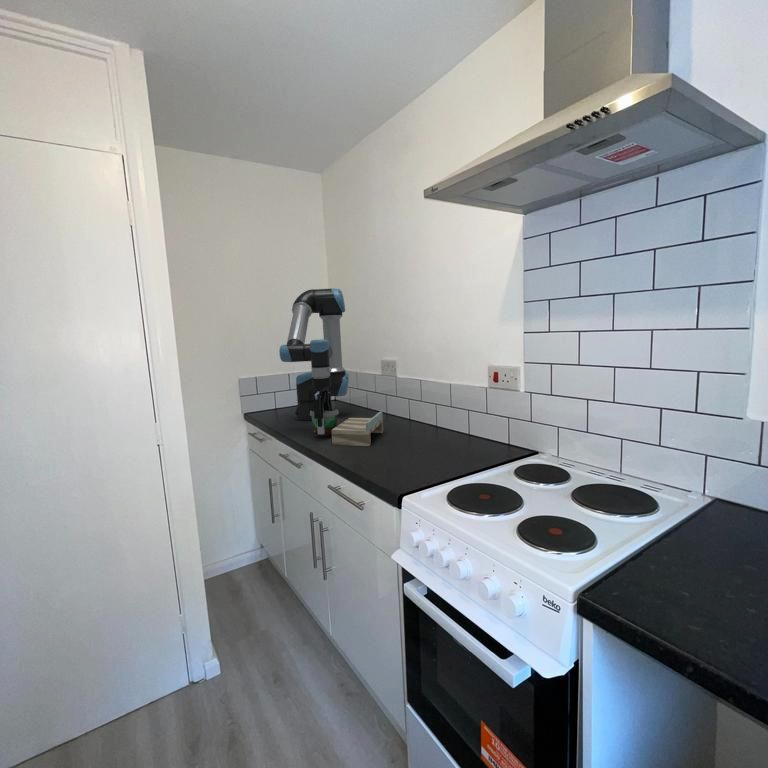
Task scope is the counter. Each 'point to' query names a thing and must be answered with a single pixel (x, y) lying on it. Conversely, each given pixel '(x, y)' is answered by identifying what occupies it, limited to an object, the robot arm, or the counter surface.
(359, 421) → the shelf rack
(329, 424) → the food container
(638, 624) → the counter surface
